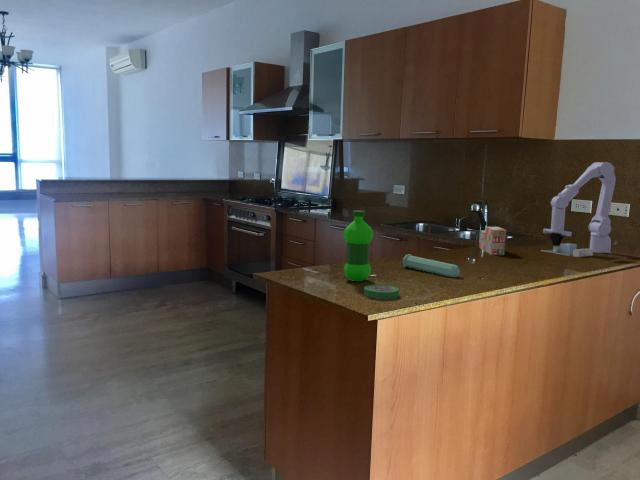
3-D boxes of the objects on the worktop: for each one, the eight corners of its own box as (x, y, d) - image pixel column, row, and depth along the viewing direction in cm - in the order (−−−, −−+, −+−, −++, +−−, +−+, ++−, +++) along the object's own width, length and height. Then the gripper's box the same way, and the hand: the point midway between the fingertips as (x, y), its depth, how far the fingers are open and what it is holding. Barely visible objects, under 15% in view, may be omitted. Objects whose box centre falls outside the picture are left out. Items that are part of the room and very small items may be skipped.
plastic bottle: (363, 284, 190) (365, 212, 187) (337, 281, 196) (338, 211, 192) (376, 279, 199) (378, 210, 195) (350, 276, 204) (352, 209, 201)
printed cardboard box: (478, 248, 279) (479, 224, 278) (490, 248, 279) (492, 224, 278) (491, 255, 258) (492, 229, 256) (504, 255, 258) (506, 229, 256)
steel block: (566, 252, 264) (567, 242, 263) (576, 253, 259) (576, 244, 259) (559, 252, 261) (560, 243, 261) (569, 254, 257) (569, 244, 256)
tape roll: (400, 293, 180) (400, 285, 179) (396, 301, 169) (396, 293, 169) (366, 291, 183) (367, 283, 182) (360, 298, 172) (361, 290, 172)
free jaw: (564, 250, 268) (565, 244, 267) (570, 251, 265) (570, 245, 265) (550, 251, 263) (551, 245, 262) (556, 252, 260) (556, 246, 260)
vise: (556, 251, 273) (557, 243, 272) (593, 257, 255) (594, 249, 255) (540, 252, 267) (540, 244, 266) (576, 259, 250) (577, 250, 249)
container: (460, 261, 205) (410, 251, 225) (451, 269, 202) (401, 258, 222) (463, 275, 208) (413, 264, 227) (454, 282, 205) (404, 270, 224)
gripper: (539, 220, 269) (537, 247, 271) (565, 223, 256) (563, 251, 258) (549, 219, 272) (547, 246, 274) (575, 222, 259) (573, 250, 261)
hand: (555, 249), depth 266 cm, fingers closed
